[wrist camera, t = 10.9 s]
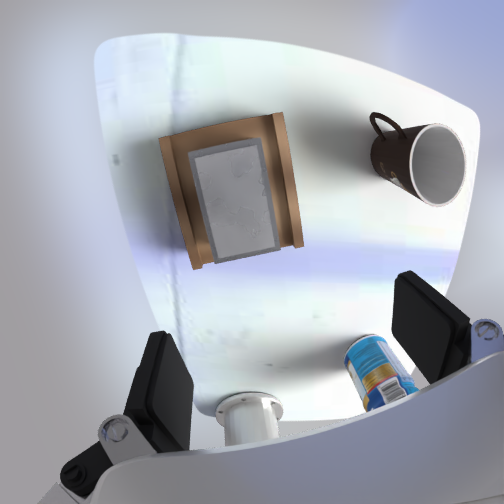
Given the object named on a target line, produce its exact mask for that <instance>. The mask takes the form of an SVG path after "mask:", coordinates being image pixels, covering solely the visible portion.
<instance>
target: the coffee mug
mask: <svg viewBox="0 0 504 504" xmlns="http://www.w3.org/2000/svg"><path fill="white" fill-rule="evenodd" d="M369 118H370V122H371V124H372V126H373V128H374V129H375V131H376V132H377V134H378V135H379V136H378V137H377V138H376V139H375V141H374V143H373V145H372V148H371V161H372V165H373V167H374V169H375V171H376V172H377V173H378V174H379V175H380V176H381V177H383V178H384V179H386V180H388V181H390V182H392V183H393V184H395V185H397V186H399V187H400V188H402V189H404V190H405V191H407V192H409V193H410V194H412V195H414V196H415V197H417V198H419V199H420V200H422V201H423V202H425V203H426V204H429V205H431V206H435V207H441V206H445V205H447V204H449V203H450V202H452V201H453V200H454V199H455V198H456V197H457V195H458V194H459V192H460V190H461V188H462V186H463V183H464V180H465V175H466V157H465V152H464V148H463V145H462V143H461V141H460V139H459V138H458V136H457V134H456V133H455V132H454V131H453V130H452V129H450V128H449V127H448V126H446V125H443V124H437V123H435V124H429V125H422V126H416V127H411V128H405V129H401V127H400V126H399V125H398V124H397V123H395V122H394V121H393V120H391V119H390V118H389V117H387V116H385V115H383V114H381V113H376V112H373V113H371V115H370V116H369ZM375 118H379V119H381V120H384V121H385V122H387V123H389V124H390V125H391V126H392V127H393V128H394V129H395V131H389V132H385V133H382V132H381V130H380V128H379V127H378V125H377V124H376V121H375Z"/></svg>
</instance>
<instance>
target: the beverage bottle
mask: <svg viewBox="0 0 504 504" xmlns="http://www.w3.org/2000/svg"><path fill="white" fill-rule="evenodd" d="M344 364H345V367H346V369H347V370H348V372H349V374H350V376H351V378H352V381H353V383H354V385H355V387H356V389H357V391H358V393H359V396H360V398H361V400H362V402H363V407H364V409H365V410H366V412H369V411H371V410H374V409H377V408H379V407H382V406H384V405H387V404H389V403H392V402H394V401H396V400H399V399H401V398H403V397H406V396H408V395H410V394H412V393H414V392H416V391H419V389H418V388H416V387H415V386H414V380H413V378H412V377H411V375H410V374H408V373H407V371H406V370H405V368H404V367H403V365H402V364H401V363H400V361H399V360H398V358H397V357H396V356H395V354H394V353H393V351H392V350H391V348H390V347H389V346H388V344H387V342H386V341H385V339H384V338H383V337H381V336H378V335H369V336H365V337H363V338H361V339H359V340H357V341H356V342H355V343H353V344H352V345H351V346H350V347H349V349H348V350H347V352H346V354H345V357H344Z"/></svg>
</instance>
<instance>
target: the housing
mask: <svg viewBox="0 0 504 504" xmlns="http://www.w3.org/2000/svg"><path fill="white" fill-rule="evenodd" d="M188 157H189V161H190V166H191V170H192V174H193V179H194V183H195V187H196V191H197V196H198V200H199V204H200V208H201V212H202V216H203V220H204V224H205V228H206V232H207V236H208V240H209V244H210V248H211V251H212V255H213V259H214V263H215V264H217V263H222V262H227V261H232V260H236V259H241V258H246V257H250V256H255V255H260V254H265V253H269V252H274V251H279V250H281V248H280V242H279V236H278V230H277V224H276V218H275V212H274V206H273V201H272V195H271V189H270V184H269V178H268V173H267V167H266V162H265V157H264V151H263V146H262V141H261V137H258V138H252V139H247V140H241V141H236V142H231V143H226V144H222V145H217V146H213V147H208V148H204V149H200V150H195V151H192V152H188Z"/></svg>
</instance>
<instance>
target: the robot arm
mask: <svg viewBox="0 0 504 504" xmlns="http://www.w3.org/2000/svg"><path fill="white" fill-rule="evenodd" d="M469 321H470V318H469V317H467V316H466V315H465V314H464V313H463V312H462V311H461V310H459V309H458V308H457V307H456V306H455V305H454V304H452V303H451V302H450V301H449V300H448V299H446V298H445V297H444V296H443V295H442V294H440V293H439V292H438V291H437V290H436V289H434V288H433V287H432V286H431V285H429V284H428V283H427V282H426V281H424V280H423V279H422V278H420V277H419V276H418V275H417V274H415V273H414V272H413V271H411V270H410V271H406V272H403V273H400V274H399V275H398V277H397V278H396V279H395V285H394V304H393V318H392V334H393V336H394V337H395V339H396V340H397V341H398V343H399V344H400V345H401V346H402V348H403V349H404V350H405V352H406V353H407V354H408V355H409V357H410V358H411V359H412V361H413V362H414V363H415V365H416V366H417V367H418V368H419V370H420V371H421V373H422V374H423V375H424V377H425V378H426V379H427V381H428V382H429V383H430V385H429V386H427V387H425V388H423V389H421V390H419V391H416V392H414V393H412V394H410V395H408V396H406V397H403V398H401V399H399V400H396V401H394V402H392V403H389V404H387V405H384V406H382V407H379V408H377V409H374V410H371V411H369V412H366V413H363V414H360V415H358V416H355V417H352V418H349V419H346V420H343V421H340V422H337V423H333V424H330V425H327V426H323V427H320V428H316V429H312V430H309V431H305V432H301V433H297V434H293V435H288V436H284V437H280V434H279V429H278V424H277V422H278V421H279V420H280V419H281V417H282V415H283V406H282V404H281V402H280V401H279V400H278V399H277V398H275V397H273V396H271V395H268V394H263V393H242V394H238V395H234V396H231V397H229V398H227V399H225V400H223V401H222V402H221V403H220V404H219V405H218V406H217V408H216V419H217V421H218V423H219V424H220V425H222V426H223V427H224V428H225V447H219V448H211V449H201V450H189V445H190V429H191V414H192V401H193V389H194V384H193V380H192V378H191V376H190V374H189V372H188V370H187V368H186V365H185V363H184V361H183V359H182V357H181V355H180V353H179V351H178V349H177V347H176V344H175V342H174V340H173V338H172V336H171V334H170V333H168V334H167V333H166V332H165V331H158V332H152V333H151V334H150V336H149V338H148V341H147V344H146V347H145V351H144V354H143V357H142V360H141V363H140V366H139V367H138V368H137V370H136V373H135V376H134V379H133V383H132V386H131V389H130V393H129V396H128V399H127V403H126V406H125V410H124V413H123V415H113V416H111V417H109V418H107V419H106V420H104V421H103V422H102V424H101V425H100V427H99V430H98V437H99V440H100V441H98V442H97V443H95V444H94V445H92V446H91V447H90V448H88V449H87V450H85V451H84V452H82V453H81V454H79V455H78V456H76V457H75V458H73V459H72V460H70V461H68V462H67V463H66V464H65V465H64V466H63V468H62V470H61V473H60V479H61V483H60V484H58V483H55V484H54V486H53V487H52V488H51V489H50V490H49V491H48V492H47V493H46V495H45V496H44V497H43V498H42V499H41V500H40V501H39V503H38V504H504V335H503V331H502V328H501V327H500V325H499V324H498V323H496V322H495V321H493V320H490V319H480V320H477V321H476V322H474V323H473V325H471V324H470V323H469Z"/></svg>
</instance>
